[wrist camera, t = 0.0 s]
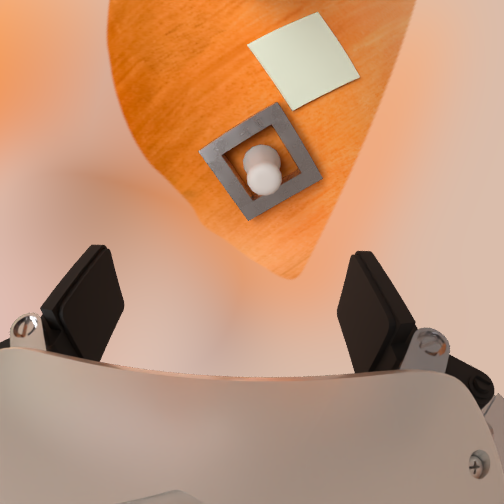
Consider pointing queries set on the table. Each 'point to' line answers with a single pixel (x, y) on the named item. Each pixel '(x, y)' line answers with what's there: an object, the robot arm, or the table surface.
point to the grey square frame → (233, 181)
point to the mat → (304, 60)
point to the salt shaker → (262, 169)
